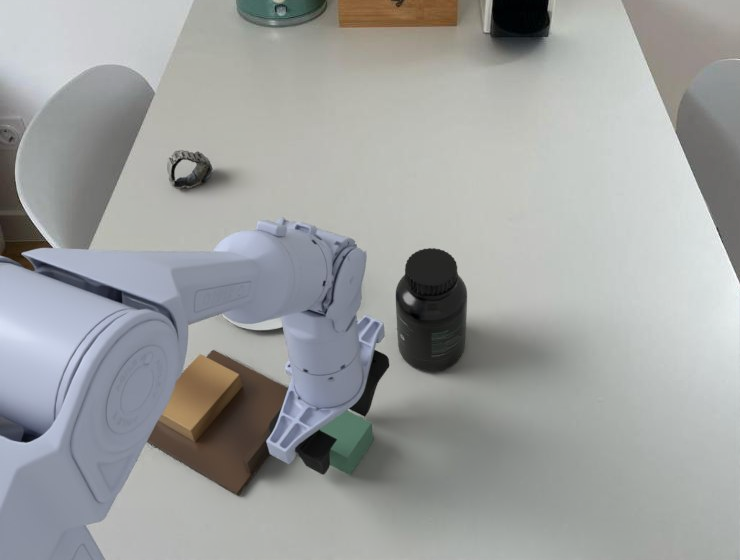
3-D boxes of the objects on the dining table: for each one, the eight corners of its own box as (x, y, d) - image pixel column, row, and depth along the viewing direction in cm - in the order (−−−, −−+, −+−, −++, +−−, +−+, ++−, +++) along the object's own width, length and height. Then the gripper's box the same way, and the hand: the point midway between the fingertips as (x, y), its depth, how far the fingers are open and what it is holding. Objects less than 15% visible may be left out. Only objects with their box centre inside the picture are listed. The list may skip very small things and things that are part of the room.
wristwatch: (197, 197, 102) (216, 165, 101) (160, 183, 99) (180, 151, 98) (191, 184, 105) (211, 153, 103) (155, 171, 101) (175, 139, 100)
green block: (349, 475, 72) (347, 458, 70) (304, 450, 74) (300, 433, 72) (373, 440, 75) (371, 422, 73) (328, 417, 77) (325, 399, 75)
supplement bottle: (389, 330, 84) (384, 250, 76) (450, 312, 86) (451, 232, 78) (411, 382, 79) (408, 303, 71) (475, 362, 81) (480, 282, 73)
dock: (238, 496, 71) (232, 481, 69) (137, 436, 76) (130, 421, 74) (310, 402, 78) (307, 386, 76) (214, 352, 83) (209, 337, 81)
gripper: (332, 268, 70) (345, 362, 80) (225, 392, 61) (253, 482, 71) (402, 298, 68) (407, 392, 77) (301, 433, 59) (319, 520, 68)
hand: (337, 437), depth 74 cm, fingers open, 6 cm apart
